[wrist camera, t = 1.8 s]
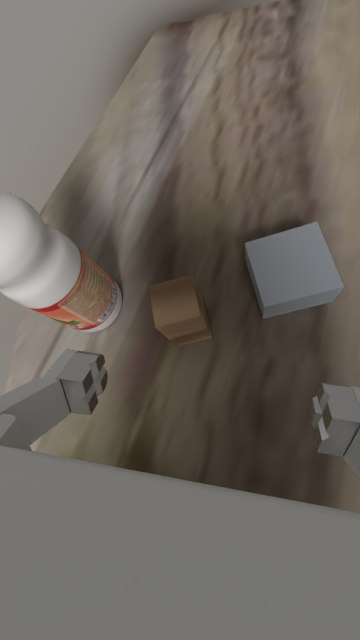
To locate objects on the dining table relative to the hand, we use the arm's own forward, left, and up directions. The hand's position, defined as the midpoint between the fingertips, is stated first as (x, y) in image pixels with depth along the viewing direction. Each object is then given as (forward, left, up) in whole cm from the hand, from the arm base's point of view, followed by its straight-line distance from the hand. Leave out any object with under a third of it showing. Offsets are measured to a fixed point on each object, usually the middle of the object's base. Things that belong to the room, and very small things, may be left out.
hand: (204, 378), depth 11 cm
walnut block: (+11, +4, -28) cm, 30 cm away
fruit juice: (+18, +18, -28) cm, 38 cm away
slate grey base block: (+14, -10, -28) cm, 33 cm away
